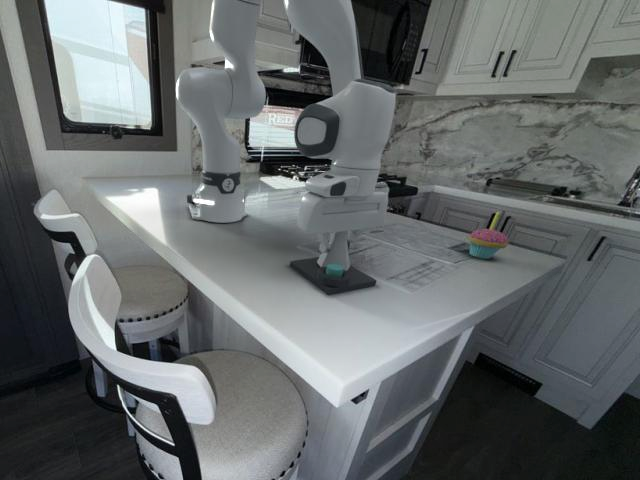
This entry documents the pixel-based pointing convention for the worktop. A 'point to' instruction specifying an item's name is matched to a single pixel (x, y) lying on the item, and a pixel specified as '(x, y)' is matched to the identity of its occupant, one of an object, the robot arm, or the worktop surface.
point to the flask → (336, 251)
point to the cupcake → (487, 241)
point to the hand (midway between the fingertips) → (336, 250)
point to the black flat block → (332, 285)
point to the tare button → (334, 270)
